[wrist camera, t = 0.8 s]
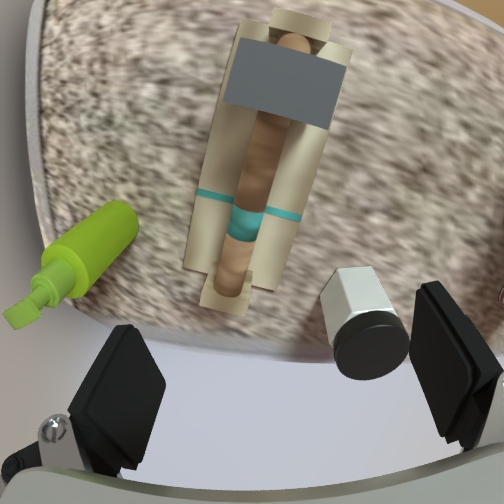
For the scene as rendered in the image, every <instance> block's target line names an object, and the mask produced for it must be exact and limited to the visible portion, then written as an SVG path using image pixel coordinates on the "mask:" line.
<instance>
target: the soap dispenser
mask: <svg viewBox="0 0 504 504" xmlns="http://www.w3.org/2000/svg"><path fill="white" fill-rule="evenodd" d="M138 229H139V222H138V218H137V215H136V213H135V212H134V210H133V209H132V208H131V207H130V206H129V205H127V204H126V203H124V202H121V201H111V202H108V203H107V204H105V205H104V206H102V207H101V208H99V209H98V210H96V211H95V212H94V213H92V214H91V215H89V216H88V217H87V218H85V219H84V220H82V221H81V222H80V223H78V224H77V225H76V226H74V227H73V228H72V229H70V230H69V231H68V232H66V233H65V234H64V235H62V236H61V237H60V238H58V239H57V240H56V241H54V242H53V243H52V244H51V245H49V246H48V247H47V248H46V249H45V250H44V252H43V254H42V258H41V265H42V269H41V270H40V271H39V272H38V273H37V274H36V275H35V276H34V277H33V278H32V280H31V289H32V292H31V293H30V294H29V295H28V296H27V297H26V298H24V299H23V300H21V301H20V302H18V303H17V304H15V305H14V306H13V307H11V308H9V309H7V310H6V311H5V312H4V313H3V316H4V317H5V318H6V320H7V321H8V322H9V324H10V325H11V326H12V328H13V329H14V330H17V329H20V328H22V327H24V326H26V325H28V324H30V323H32V322H33V321H35V320H37V319H38V318H39V317H40V316H41V315H42V314H41V312H40V310H41V309H42V308H43V307H44V306H46V307H49V308H54V307H56V306H57V305H58V304H59V303H60V302H61V301H62V300H63V299H64V298H65V297H68V298H73V299H75V298H80V297H82V296H83V295H84V294H85V293H86V292H87V291H88V290H89V289H90V287H91V286H92V285H93V284H94V283H95V282H96V280H97V279H98V278H99V277H100V276H101V275H102V274H103V272H104V271H105V270H106V269H107V268H108V267H109V266H110V264H111V263H112V262H113V261H114V260H115V259H116V258H117V257H118V256H119V254H120V253H121V252H122V251H123V250H124V249H125V248H126V247H127V246H128V245H129V244H130V242H131V241H132V240H133V239H134V238H135V237H136V235H137V233H138Z"/></svg>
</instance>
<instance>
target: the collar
mask: <svg viewBox="0 0 504 504" xmlns="http://www.w3.org/2000/svg"><path fill="white" fill-rule="evenodd" d="M346 68H347V66H344V65H341V64H338V63H336V62H333V61H330V60H327V59H324V58H320V57H317V56H314V55H311V54H308V53H304V52H301V51H297V50H294V49H290V48H286V47H282V46H278V45H274V44H270V43H266V42H262V41H257V40H253V39H248V38H243V37H240V40H239V43H238V47H237V50H236V54H235V57H234V61H233V64H232V68H231V71H230V75H229V79H228V82H227V86H226V90H225V94H224V97H223V101H222V102H226V103H231V104H235V105H239V106H244V107H248V108H252V109H256V110H260V111H264V112H268V113H272V114H275V115H279V116H283V117H286V118H290V119H293V120H296V121H300V122H303V123H306V124H310V125H313V126H316V127H319V128H322V129H325V130H328V129H329V126H330V123H331V119H332V116H333V113H334V109H335V106H336V103H337V99H338V96H339V92H340V89H341V86H342V82H343V79H344V75H345V72H346Z"/></svg>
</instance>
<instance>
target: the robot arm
mask: <svg viewBox="0 0 504 504" xmlns="http://www.w3.org/2000/svg"><path fill="white" fill-rule="evenodd" d="M409 357H410V360H411V363H412V365H413V367H414V370H415V372H416V374H417V377H418V380H419V382H420V384H421V387H422V389H423V392H424V394H425V397H426V400H427V402H428V405H429V408H430V410H431V413H432V416H433V419H434V421H435V424H436V427H437V430H438V433H439V435H440V436H441V437H445V439H446V442H447V444H449V443H451V442H455V441H457V440H459V443H460V446H461V447H462V449H461V451H460V454H457V455H454V456H451V457H448V458H445V459H442V460H438V461H436V462H432V463H429V464H425V465H422V466H418V467H415V468H411V469H407V470H403V471H399V472H395V473H391V474H387V475H383V476H379V477H374V478H368V479H363V480H358V481H352V482H346V483H340V484H333V485H326V486H317V487H308V488H298V489H285V490H260V491H229V490H228V491H227V490H206V489H192V488H181V487H171V486H163V485H156V484H149V483H143V482H137V481H131V480H126V479H123V477H122V475H121V473H120V469H121V467H123V468H125V469H131V470H136V469H137V466H138V463H141V462H142V460H143V457H144V454H145V451H146V447H147V444H148V441H149V438H150V435H151V432H152V428H153V425H154V422H155V419H156V416H157V413H158V410H159V407H160V404H161V401H162V398H163V395H164V391H165V388H166V382H165V379H164V377H163V376H162V374H161V372H160V370H159V368H158V366H157V365H156V363H155V361H154V359H153V357H152V355H151V353H150V352H149V349H148V348H147V346H146V344H145V342H144V340H143V338H142V336H141V334H140V332H139V330H138V329H137V328H134V326H133V325H131V324H128V325H117V326H115V328H114V329H113V331H112V333H111V334H110V336H109V337H108V339H107V341H106V342H105V344H104V346H103V347H102V349H101V351H100V352H99V354H98V356H97V358H96V359H95V361H94V363H93V364H92V366H91V368H90V370H89V371H88V373H87V375H86V377H85V378H84V381H83V382H82V384H81V386H80V388H79V389H78V391H77V393H76V395H75V396H74V398H73V400H72V402H71V404H70V406H69V408H68V412H69V413H70V414H71V415H70V417H69V418H68V417H67V416H66V415H63V414H55V415H52V416H50V417H49V418H47V419H46V420H45V421H44V422H43V423H42V424H41V426H40V428H39V431H38V441H37V442H35V443H33V444H31V445H29V446H27V447H26V448H23V449H21V450H19V451H17V452H16V453H14V454H12V455H10V456H9V457H8V458H7V459H6V460H5V461H4V463H3V465H2V469H1V475H2V476H1V475H0V504H504V370H503V368H502V367H501V365H500V364H499V362H498V361H497V359H496V357H495V356H494V354H493V353H492V351H491V349H490V348H489V346H488V345H487V343H486V342H485V340H484V339H483V337H482V336H481V334H480V333H479V332H478V330H477V329H476V327H475V326H474V324H473V323H472V321H471V320H470V319H469V318H468V317H467V316H466V315H464V313H463V312H462V311H461V309H460V308H459V306H458V305H457V304H456V302H455V301H454V300H453V298H452V297H451V296H450V294H449V293H448V292H447V290H446V289H445V288H444V287H443V285H442V284H441V283H440V282H439V281H433V282H428V283H423V284H422V285H421V288H420V289H418V290H417V291H416V298H415V308H414V317H413V325H412V333H411V340H410V347H409Z"/></svg>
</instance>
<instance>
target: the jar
mask: <svg viewBox="0 0 504 504" xmlns="http://www.w3.org/2000/svg"><path fill="white" fill-rule="evenodd" d="M320 301H321V305H322V310H323V315H324V320H325V325H326V330H327V335H328V341H329V344H330V345H331V346H332V348H333V350H334V358H335V361H336V364H337V367H338V369H339V371H340V372H341V373H342V374H343V375H345V376H346V377H348V378H351V379H354V380H372V379H376V378H379V377H382V376H384V375H386V374H388V373H390V372H392V371H393V370H395V369H396V368H397V367H398V366H399V365H400V364H401V363H402V362H403V361H404V359H405V358H406V356H407V354H408V352H409V347H410V339H409V336H408V334H407V332H406V330H405V328H404V326H403V323H402V322H401V320H400V319H399V318H398V316H397V314H396V312H395V310H394V308H393V306H392V304H391V302H390V300H389V298H388V296H387V294H386V292H385V290H384V288H383V286H382V284H381V282H380V281H379V279H378V277H377V275H376V273H375V271H374V269H373V268H372V266H364V267H351V268H338V269H337V270H336V271H335V273H334V274H333V276H332V277H331V279H330V280H329V282H328V284H327V285H326V287H325V288H324V290H323V291H322V293H321V294H320Z"/></svg>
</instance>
